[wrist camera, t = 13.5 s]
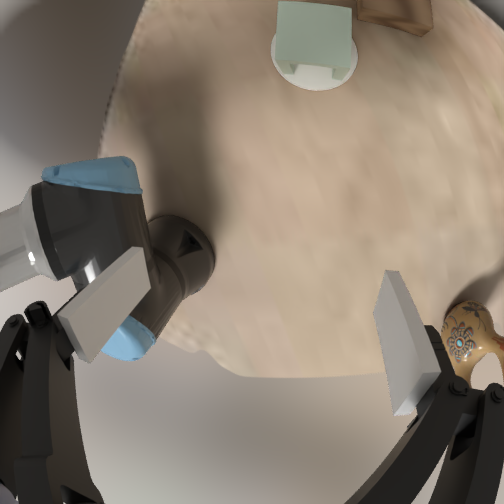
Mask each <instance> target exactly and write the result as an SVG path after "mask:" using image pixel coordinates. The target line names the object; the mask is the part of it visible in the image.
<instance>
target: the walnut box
mask: <svg viewBox="0 0 504 504" xmlns="http://www.w3.org/2000/svg"><path fill="white" fill-rule="evenodd" d="M357 19H358V20H363V21H367V22H372V23H376V24H380V25H384V26H388V27H392V28H395V29H399V30H402V31H405V32H408V33H411V34H414V35H417V36H420V37H422V36H423V35H424V34H426V33H427V32H429V31H430V30H431V29H433V18H432V9H431V2H430V0H357Z"/></svg>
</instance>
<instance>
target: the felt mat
mask: <svg viewBox="0 0 504 504" xmlns="http://www.w3.org/2000/svg"><path fill="white" fill-rule="evenodd" d="M275 46H276V34H275V35H274V37H273V40H272V43H271V57H272V60H273V63H274V65H275V67H276V69H277V70H278V72H279V73H280V74H281V75H282V76H283V77H284V78H285V79H286V80H287V81H289V82H290V83H292V84H293V85H295V86H297V87H300V88H303V89H306V90H312V91H325V90H330V89H333V88H336V87H338V86H340V85H342V84H343V83H345V82H346V81H347V80H348V79H349V78H350V77H351V75H352V74H353V72H354V70H355V68H356V65H357V60H358V53H357V48H356V45H355V43H354V41H353V39H352V41H351V68H350V70H349V71H348V73H347V74H346V76H345V77H344V78H343V80H342V81H340V80H334V79H332V69H333V68H328V67H321V66H312V65H303V64H294V75H291V74H283V73H282V71H281V69H280V68H279V66H278V64H277V63H276V61H275Z"/></svg>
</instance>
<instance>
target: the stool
mask: <svg viewBox="0 0 504 504" xmlns="http://www.w3.org/2000/svg"><path fill="white" fill-rule="evenodd" d="M351 41H352V8H347V7H341V6H335V5H327V4H319V3H309V2H295V1H278V12H277V29H276V46H275V61H276V63H277V64H278V66H279V68H280V69H281V71H282V73H283V74H291V75H294V64H303V65H312V66H321V67H328V68H333V69H332V79H334V80H340V81H342V80H343V78H344V77H345V76H346V74H347V73H348V71H349V70H350V68H351Z"/></svg>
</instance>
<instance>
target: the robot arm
mask: <svg viewBox="0 0 504 504" xmlns="http://www.w3.org/2000/svg"><path fill="white" fill-rule="evenodd" d="M41 178H42V180H43V181H42V182H40V183H37V184H35V185H32V186H30V187H29V189H28V191H27V193H26V195H25V197H24V199H23V201H22V202H21V204H19V205H17V206H14V207H12V208H10V209H7V210H5V211H3V212H1V213H0V292H2V291H4V290H6V289H8V288H10V287H13V286H15V285H17V284H19V283H21V282H24V281H26V280H28V279H30V278H33V277H35V276H37V275H40V274H41V275H45V276H46V277H48V278H50V279H53V280H54V281H59V280H61V279H64V278H66V277H69V276H71V277H72V279H73V282H74V285H75V288H76V290H77V293H76V294H75V295H74V296H73V297H72V298H70V299H69V301H68V302H66V303H65V304H64V305H63V306H62V307H61V308H60V309H59V310H58V311H57V312H56V313H55V314H54V315H53V316H51V313H50V311H49V309H48V307H47V304H46V303H45V302H44V301H36V302H34V303H32V304H30V305H29V306H28V307H27V308H26V309H25V311H24V313H25V315H26V317H27V319H28V321H29V323H26V321H25V319H24V317H23V316H22V315H21V314H16V315H13V316H11V317H10V318H9V319H8V320H7V321H6V322H5V324H4V326H3V328H2V330H1V332H0V504H63V502H65V503H66V504H104V501H103V498H102V496H101V494H100V492H99V490H98V489H97V488H96V486H95V485H94V483H93V482H92V479H91V476H90V472H89V469H88V464H87V460H86V455H85V451H84V446H83V441H82V435H81V429H80V423H79V416H78V408H77V399H76V389H75V376H74V360H73V357H72V355H71V354H72V353H73V352H74V351H75V352H76V354H77V355H78V357H79V359H81V360H83V361H85V362H87V363H91V362H92V361H93V360H94V358H95V357H96V356H97V354H98V353H99V352H100V351H102V352H104V353H105V354H107V355H109V356H111V357H114V358H116V359H119V360H124V361H135V360H138V359H140V358H142V357H143V356H144V355H145V353H146V352H147V351H148V349H149V348H150V347H151V346H152V345H154V344H155V342H156V339H157V338H158V336H159V335H160V333H161V332H162V330H163V329H164V327H165V326H166V324H167V323H168V321H169V319H170V318H171V316H172V315H173V313H174V312H175V310H176V309H177V307H178V306H179V304H180V303H181V302H182V300H184V299H185V298H187V297H188V296H189V295H192V294H194V293H196V292H198V291H199V290H201V289H202V288H203V287H204V286H205V284H206V283H207V281H208V280H209V278H210V277H211V275H212V272H213V269H214V255H213V250H212V248H211V245H210V243H209V241H208V239H207V238H206V236H205V235H204V234H203V233H202V231H201V230H200V229H199V228H198V227H196V226H195V225H194V224H192V223H191V222H189V221H187V220H185V219H183V218H180V217H176V216H162V217H158V218H156V219H154V220H153V221H151V222H150V223H148V224H147V220H146V215H145V210H144V205H143V199H142V193H143V190H142V189H141V188H140V184H139V179H138V175H137V170H136V166H135V164H134V162H133V161H132V160H131V159H130V158H128V157H125V156H116V157H108V158H100V159H93V160H86V161H79V162H73V163H67V164H63V165H56V166H51V167H46V168H44V170H43V171H42V176H41ZM373 315H374V319H375V323H376V327H377V331H378V336H379V340H380V344H381V349H382V354H383V359H384V364H385V369H386V374H387V379H388V385H389V391H390V397H391V404H392V410H393V416H398V415H409V414H410V413H411V412H412V411H413V410H414V408H415V407H416V409H417V414H418V415H417V416H416V417H415V418H414V419H413V420H412V422H411V423H410V424H409V425H408V426H407V428H408V429H407V430H406V432H405V433H404V434H403V436H402V437H401V439H400V440H399V442H398V443H397V444H396V446H395V447H394V448H393V449H392V451H391V452H390V453H389V455H388V456H387V457H386V459H385V460H384V461H383V462H382V464H381V465H380V466H379V467H378V468H377V469H376V471H375V472H374V473H373V474H372V475H371V476H370V477H369V479H368V480H367V481H366V482H365V483H364V484H363V485H362V486H361V487H360V489H358V491H357V492H355V494H354V495H353V496H352V497H351V498H350V499H349V500H348V501H346V502H345V504H411V503H412V502H413V500H414V499H415V498H416V496H417V494H418V493H419V492H420V490H421V489H422V487H423V486H424V484H425V483H426V481H427V480H428V478H429V477H430V475H431V474H432V472H433V470H434V468H435V467H436V465H437V464H438V462H439V460H440V458H441V457H442V455H443V453H444V451H445V449H446V447H447V445H448V448H447V451H446V455H445V459H444V462H443V465H442V469H441V471H440V474H439V477H438V480H437V483H436V486H435V489H434V491H433V494H432V496H431V499H430V501H429V503H428V504H494V503H495V500H496V496H497V492H498V488H499V484H500V479H501V474H502V468H503V463H504V387H503V386H502V385H500V384H498V383H491V384H489V385H488V387H487V388H486V389H485V390H484V391H483V390H477V389H472V388H470V386H469V384H468V383H467V381H466V380H465V379H464V378H462V377H460V376H458V375H456V374H455V371H454V369H453V366H452V363H451V361H450V358H449V356H448V353H447V351H446V350H445V349H446V348H445V346H444V343H443V341H442V339H441V336H440V334H439V333H438V331H437V330H436V329H435V328H434V327H433V326H432V325H423V322H422V320H421V318H420V315H419V313H418V311H417V309H416V306H415V304H414V302H413V300H412V298H411V295H410V293H409V291H408V289H407V287H406V285H405V283H404V281H403V279H402V277H401V275H400V273H399V271H390V270H385V274H384V277H383V281H382V285H381V288H380V292H379V295H378V298H377V302H376V305H375V308H374V311H373ZM17 350H18V352H19V353H20V355H21V356H22V357H21V359H20V360H19V359H18V357H17V356H16V352H17ZM16 496H18V501H19V502H18V501H16Z"/></svg>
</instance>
